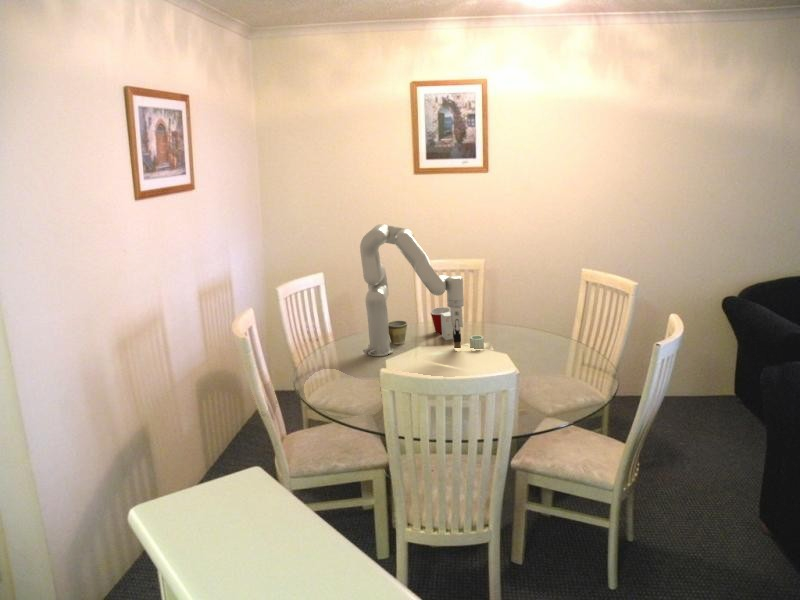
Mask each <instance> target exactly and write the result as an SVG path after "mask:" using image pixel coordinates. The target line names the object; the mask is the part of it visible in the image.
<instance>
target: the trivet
mask: <svg viewBox="0 0 800 600" xmlns="http://www.w3.org/2000/svg"><path fill="white" fill-rule="evenodd" d="M460 345H468V346H470V342H467V343H460ZM452 346H454V343H453V344H452ZM483 349H488V350H491V351H494V347H493V345H492V343H491V341H488V342H485V341H484V348H483Z"/></svg>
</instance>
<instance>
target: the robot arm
mask: <svg viewBox="0 0 800 600" xmlns="http://www.w3.org/2000/svg"><path fill="white" fill-rule="evenodd" d="M414 237H415V235H414V234H413V231H412V230H410V229H408V228H405V227H399V226H394V225H389V224H377V225H375V226H374V227H373V228H371V230H369V231H368V232H367V233H366V234H365V235H364V236H363V237H362V238H361V241H360V245H359V249H360V250H359V251H360V259H361V260H360V261H361V265H362V266H361V267H362V274H363V279H364V282H365V284H367V287H368V291H367V293H366V294H365V307H366V315H367V325H368V327H367V328H368V339H369V344H368V347H367V348H365V349H363V351H362V352H363V354H367V355H369V356H371V357H385V356H389V355H391V354H393V353H394V348H393V347H392V346H391V343H390V342H391V340H390V336H389V326H388V322H389V314H388V307H387V306H388V305H387V300H388V297H389V294H390V293H389V284H388V278H387V271H386V268H385V266H384V265H383V263H381V258H380V256H381V255H380V251H379V248H380V247H381V246H382V245H385V244H390V245H395V247H396V248H397V249H398V251H400V253H401V254H402V255H403V256H404V258H405V260H406V261H408V263H409V264H410V266H411V267H412V268H413V271H414V272H415V273H416V275H417V276H418V278H419V279H420V281H421V282H422V283H423V285H424V286H425V288H426V289H427V290H428V291H429V293H430V294H432V295H434V296H442V295H444V293H445V292H446V300H447V301H446V303H447V304H446V305H447V308H450V313H451V322H452V327H453V328H454V331H453V339H452V340H453V343H454V342H460V343H461V341H462V335H461V333H462V332H461V333H460V327H461V329H462V328H464V320H463V319H464V318H463V308H462V307H464V305H465V304H464V303H465V302H464V300H465V299H464V298H465V297H464V278H463V277H462V276H461V275H440V274H439V275H438V274H437V272H436V271H435V269H434V267H433V266H432V264H431V262H430V258H429V257H428V255H427V253H426V252H425V251H424V249H423V248H422V247H421V245H419V243H418V242H417V241H416V239H415V238H414ZM455 326H456V327H455ZM455 329H456V330H455ZM392 352H393V353H392ZM390 353H391V354H390ZM388 354H389V355H388Z"/></svg>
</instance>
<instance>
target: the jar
mask: <svg viewBox="0 0 800 600" xmlns="http://www.w3.org/2000/svg"><path fill="white" fill-rule="evenodd" d="M469 343H470V348H474V349H483V348H484V343H485V336H483V335H479V334H477V335H476V334H475V335H471V336H469Z"/></svg>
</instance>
